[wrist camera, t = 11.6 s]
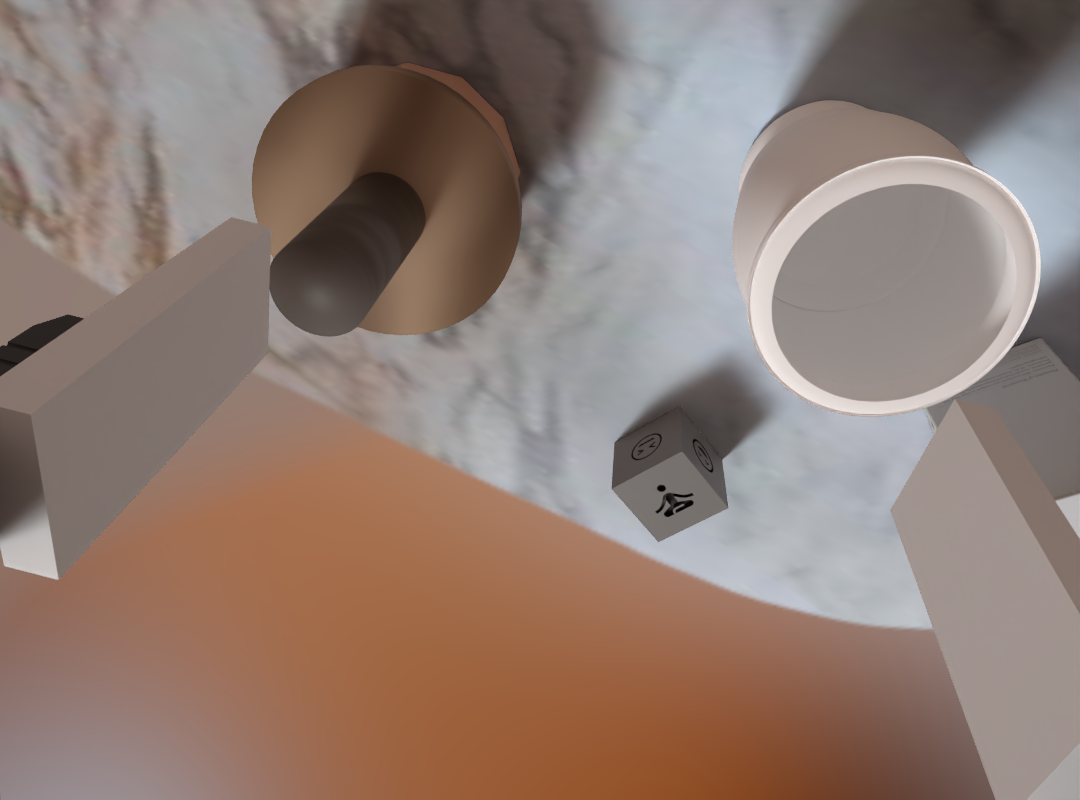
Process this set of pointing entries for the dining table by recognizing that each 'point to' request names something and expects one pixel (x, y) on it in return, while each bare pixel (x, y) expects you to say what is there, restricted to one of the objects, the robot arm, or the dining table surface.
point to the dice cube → (669, 475)
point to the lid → (384, 204)
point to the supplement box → (1034, 416)
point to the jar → (877, 260)
